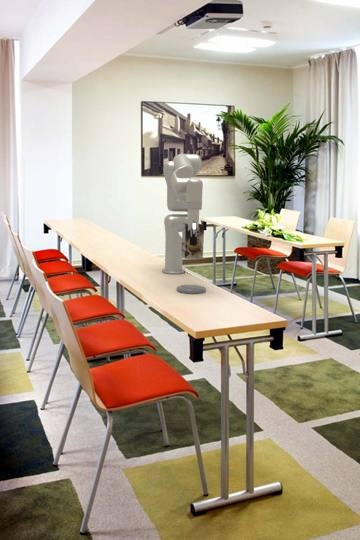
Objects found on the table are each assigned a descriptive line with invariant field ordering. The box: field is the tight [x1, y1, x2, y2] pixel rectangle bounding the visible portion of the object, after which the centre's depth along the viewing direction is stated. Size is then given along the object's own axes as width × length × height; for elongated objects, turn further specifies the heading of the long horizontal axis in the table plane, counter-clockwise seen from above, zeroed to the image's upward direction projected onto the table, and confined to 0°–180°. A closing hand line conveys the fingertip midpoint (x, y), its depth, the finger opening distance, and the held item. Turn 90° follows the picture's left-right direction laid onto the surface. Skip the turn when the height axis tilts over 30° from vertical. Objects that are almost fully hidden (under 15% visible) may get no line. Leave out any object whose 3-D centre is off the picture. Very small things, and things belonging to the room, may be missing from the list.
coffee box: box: [181, 223, 205, 260], centre depth 289 cm, size 9×6×16 cm
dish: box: [176, 284, 207, 295], centre depth 294 cm, size 14×14×2 cm
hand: (192, 243), depth 290 cm, fingers closed on coffee box, 7 cm apart
